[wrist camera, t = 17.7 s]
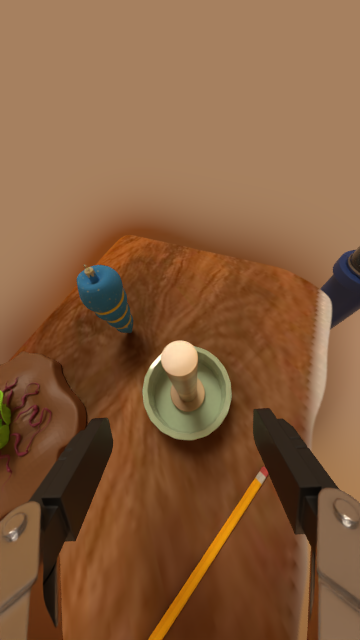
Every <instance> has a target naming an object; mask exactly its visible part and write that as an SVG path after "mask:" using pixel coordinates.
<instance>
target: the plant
mask: <svg viewBox="0 0 360 640" xmlns="http://www.w3.org/2000/svg"><path fill="white" fill-rule="evenodd" d="M85 428H86V410H85V407H84V405H83V403H82V402H81V400H80V399H79V398H78V397H77V396H76V395H75V394H74V393H73V392H72V390H71V389H70V387H69V386H68V384H67V382H66V380H65V378H64V376H63V374H62V367H61V364H60V363H59V362H57V361H55V360H53V359H50V358H48V357H46V356H44V355H42V354H37V353H35V354H31V353H27V352H21V353H20V354H19V355H18V356H17V357H15V358H14V359H13V360H11V361H9V362H7V363H4V364H1V365H0V522H1V520H2V519H3V518H4V517H5V516H6V515H8V514H9V513H10V512H11V511H12V510H14V509H15V508H17V507H18V506H20V505H22V504H24V503H26V502H28V501H29V500H30V498H31V497H32V496H33V494H34V493H35V491H36V490H37V488H38V487H39V485H40V484H41V483H42V481H43V480H44V478H45V477H46V475H47V474H48V472H49V471H50V469H51V468H52V467H53V465H54V464H55V462H56V461H58V458H59V456H60V455H61V453H62V452H64V449H65V448H66V446H67V445H68V443H69V442H70V440H71V439H72V438H73V437H74V436H75V435H76V434H78V433H79V432H80V431H81V430H85Z"/></svg>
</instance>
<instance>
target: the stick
mask: <svg viewBox="0 0 360 640" xmlns="http://www.w3.org/2000/svg"><path fill="white" fill-rule="evenodd" d="M161 364H162V367H163V368H164V370H165V372H166V374H167V376H168V377H169V379H170V381H171V383H172V387H171V391H170V395H171V400H172V402H173V404H174V405H175V406H176V407H177V408H178V409H179V410H181V411H184V412H193V411H195V410H197V409H198V408H199V407H200V406H201V405H202V403H203V401H204V398H205V389H204V386H203V384H202V382H201V381H200V380H199V379H198V378H197V371H198V354H197V351H196V349H195V348H194V346H193V345H191V344H190V343H188V342H186V341H174V342H172V343H170V344H168V345H167V346H166V347H165V348H164V350H163V352H162V355H161Z"/></svg>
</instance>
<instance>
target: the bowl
mask: <svg viewBox="0 0 360 640" xmlns="http://www.w3.org/2000/svg"><path fill="white" fill-rule="evenodd" d="M194 348H195V349H196V351H197V354H198V371H197V378H198V379H199V380H200V381H201V382H202V384H203V386H204V389H205V398H204V401H203V403H202V405H201V406H200V407H199V408H198V409H197V410H195V411H193V412H184V411H181V410H179V409H178V408H177V407H176V406H175V405H174V404H173V402H172V400H171V395H170V391H171V387H172V383H171V381H170V379H169V377H168V376H167V374H166V372H165V370H164V368H163V367H162V364H161V355H162V354H161V355H160V356H159V357H158V358H157V359H156V360H155V361H154V362H153V363H152V364H151V366H150V368H149V370H148V372H147V374H146V376H145V379H144V385H143V390H142V393H143V401H144V407H145V409H146V411H147V414H148V416H149V418H150V420H151V421H152V422H153V423H154V425H155V426H156V427H157V428H158V429H159V430H160V431H161V432H163V433H165V434H167V435H169V436H170V437H172V438H174V439H180V440H190V441H191V440H195V439H199V438H202V437H205V436H208V435H209V434H210V433H211V432H213V431H214V430H215V429H217V428H218V427H219V426H220V425H221V423H222V422H223V420H224V418H225V417H226V415H227V414H228V411H229V407H230V403H231V399H232V398H231V397H232V394H231V383H230V379H229V377H228V374H227V371H226V369H225V368H224V366H223V365H222V364H221V362H220V361H219V360H218V358H216V357H215V356H214V355H212V354H211V353H210V352H208V351H206V350H204V349H201V348H198V347H196V346H194Z"/></svg>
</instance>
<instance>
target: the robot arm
mask: <svg viewBox="0 0 360 640" xmlns="http://www.w3.org/2000/svg"><path fill="white" fill-rule="evenodd" d="M346 264H347V267H348V269H349V270H350V271H351V272H352V273H353V274H354V275H355V276H356V277H358V278H360V246H359V247H358V249H357V250H356V251H355V252H354V253H352V254H351V255H350V256H349V257H348V259H347V261H346ZM253 434H254V440H255V443H256V446H257V448H258V451H259V453H260V455H261V457H262V460H263V462H264V464H265V467H266V469H267V471H268V473H269V476H270V478H271V480H272V483H273V485H274V487H275V489H276V492H277V494H278V496H279V499H280V501H281V503H282V505H283V508H284V510H285V512H286V515H287V517H288V519H289V521H290V524H291V526H292V528H293V531H294V533H295V534H305V535H306V537H307V539H308V541H309V543H310V545H311V558H310V583H309V609H308V611H309V612H308V631H307V640H360V503H359V502H358V501H357V500H356V499H354V498H353V497H351V496H350V495H349V494H347V493H345V492H343V491H341V490H340V489H339V488H338V487H337V486H336V485H335V483H334V482H333V480H332V479H331V478H330V476H329V475H328V474H327V472H326V471H325V470H324V468H323V467H322V466H321V464H320V463H319V461H318V460H317V459H316V457H315V456H314V455H313V453H312V452H311V451H310V449H309V448H307V445H306V444H305V443H304V441H303V440H302V439H301V438H300V436H299V434H298V433H297V432H296V430H295V429H294V428H293V426H291V425H290V424H289V423H287V422H286V421H285V420H284V419H277V418H276V417H275V415H274V414H273V412H272V411H271V410H270V409H269V408H263V409H254V417H253ZM112 448H113V438H112V433H111V429H110V424H109V420H108V418H95V419H92V420H91V421H90V422H89V424H88V426H87V427H86V429H85V430H81V431H80V432H79V433H78V434H76V435H75V436H74V437H73V438H72V439H71V440H70V442H69V443H68V445H67V446H66V448H65V449H64V452H62V453H61V455H60V456H59V458H58V461H56V462H55V464H54V465H53V467H52V468H51V469H50V471H49V472H48V474H47V475H46V477H45V478H44V480H43V481H42V483H41V484H40V485H39V487H38V488H37V490H36V491H35V493H34V494H33V496H32V497H31V498H30V500H29V501H28V502H26V503H24V504H22V505H20V506H18V507H17V508H15V509H14V510H12V511H11V512H10V513H9V514H8V515H6V516H5V517H4V518H3V519H2V520H1V522H0V640H63V633H62V611H61V581H60V557H59V553H60V551H61V548H62V546H63V544H64V542H65V541H76V538H77V536H78V534H79V531H80V529H81V526H82V524H83V521H84V519H85V516H86V514H87V511H88V509H89V507H90V504H91V502H92V499H93V497H94V494H95V492H96V489H97V487H98V484H99V482H100V480H101V477H102V475H103V472H104V470H105V467H106V465H107V462H108V460H109V457H110V455H111V452H112Z"/></svg>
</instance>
